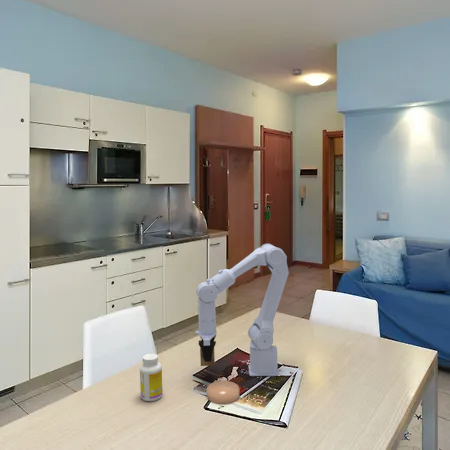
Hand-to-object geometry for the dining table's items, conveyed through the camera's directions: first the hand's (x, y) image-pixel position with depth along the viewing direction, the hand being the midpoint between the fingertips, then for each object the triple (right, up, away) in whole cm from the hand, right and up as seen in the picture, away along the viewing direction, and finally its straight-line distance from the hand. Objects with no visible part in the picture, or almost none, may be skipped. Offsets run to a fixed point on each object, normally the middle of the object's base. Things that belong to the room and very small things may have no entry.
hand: (208, 357), depth 141 cm
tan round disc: (+5, -8, -11) cm, 15 cm away
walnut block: (0, -2, 0) cm, 2 cm away
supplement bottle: (-17, -9, -11) cm, 22 cm away
